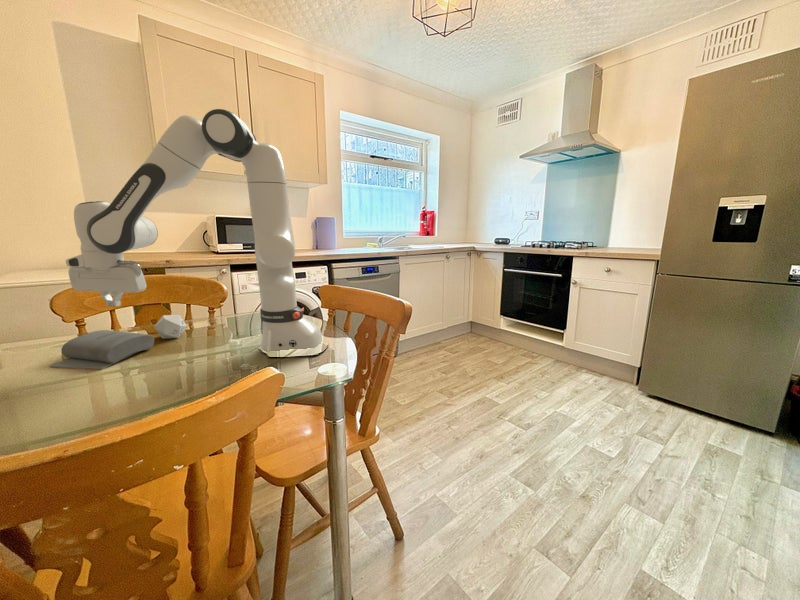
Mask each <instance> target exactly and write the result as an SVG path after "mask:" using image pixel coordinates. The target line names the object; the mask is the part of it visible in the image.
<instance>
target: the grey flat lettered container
mask: <svg viewBox="0 0 800 600" xmlns="http://www.w3.org/2000/svg"><path fill="white" fill-rule="evenodd" d="M154 344H155V337H154V336H153V335H152V334H148V333H147V334H146V333H139V332H129V331H119V330H109V329H103V330H101V329H100V330H95V331H91V332H87V333H84V334H81V335H79V336H77V337H74V338H72V339H70V340H68V341H66V342H65V343H64V344H63V345H62V346H61V349H60V350H61V354H62V355H63V357H65V358H78V359H86V360H93V361H101V362H108V363H115V362H117V363H119V362H120V361H119V360H121V359H123V358H124V357H126V356H128V355H130V354H133V353H135V352H137V353H139V352H141V351H142V352H143V351H146V350H150V349H151V348H153V346H154ZM138 351H139V352H138ZM135 354H136V353H135ZM133 355H134V354H133ZM123 360H124V359H123ZM118 361H119V362H118ZM121 361H122V360H121ZM115 364H116V363H115Z"/></svg>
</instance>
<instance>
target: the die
mask: <svg viewBox="0 0 800 600" xmlns="http://www.w3.org/2000/svg"><path fill="white" fill-rule="evenodd" d="M187 327H188V326H187V323H185V321H184V319H183V318H182V317H181V315H180V314H167V315H166V314H165V315H164V314H163V315H162V316H161V317H160V318H159V320H158V321H157V322H156V323H155V325H154V326H153V328H154V330H155V331H156V333H157V334H158V335H159V336H160V337H161V339H163V340H165V339H180V337H181V336H182V334H183V332H185V330H186V328H187Z"/></svg>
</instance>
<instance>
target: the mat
mask: <svg viewBox="0 0 800 600" xmlns="http://www.w3.org/2000/svg"><path fill="white" fill-rule="evenodd" d="M139 352H140V351H138V352H135V353H133V354H130V355H128V356H126V357H124V358H123V359H121V360H119V361H118V362H115V363H108V362H101V361H93V360H86V359H78V358H70V357H67V359H64V360H62V361H58V362H57V363H54V364H53V363H52V364H51V365H49V367H50V368H58V369H59V368H61V369H84V370H85V369H87V370H89V369H90V370H104V369H106V368H108V367H110V366H112V365H114V364H116V363H117V364H118V363H119V362H121V361H123V360H125V359H127V358H129V357H131V356H134V355H135V354H137V353H139Z"/></svg>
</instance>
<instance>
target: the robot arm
mask: <svg viewBox="0 0 800 600" xmlns="http://www.w3.org/2000/svg"><path fill="white" fill-rule="evenodd" d="M215 154H217V155H218V156H221V157H223V158H226V159H229V160H231V161H234V162H238V163H242V164H243V165H244V169H245V173H246V183H247V191H248V192H247V193H248V199H249V207H250V214H251V222H252V228H253V229H252V230H253V236H254V254H255V262H256V263H255V264H256V271H257V277H258V279H257V280H258V289H259V297H260V298H259V299H260V309H259V310H260V311H259V312H260V323H261V325H262V334H261V335H262V336H261V344H260V348H261V349H262V350H264V351H266V352H270V351H280V350H289V349H307V348H315V347H317V346H318V345H319V344H321V342H322V340H323V339H322V338H323V336H322V335H323V334H322V330H321V329H320V326H318V325H316V324H315V323H313V322H312V321H310V320H309V319H307V317H305V316H304V311H305V308H304V307H302V308H301V307H300V306H298V304H297V302H298V301H297V289H296V280H295V276H294V269H293V261H294V259H295V256H296V243H295V239H294V238H295V237H294V232H293V231H294V230H293V225H292V219H291V214H290V206H289V194H288V185H287V184H288V182H287V175H286V170H285V165H284V161H283V158H282V154H281V152H280V150H279V149H278V148H276V147H275V146H273V145H272V144H270V143H269V144H268V143H264V142H258V141H257V139H256V136H255V134H254V133H253V132H252V130H251V129H250V127H249V126H248V125H247V124H246V122H244V120H242V119H241V118H240V117H239V116H237V115H236V114H235V113H234V112H233V111H232V112H231V111H230V110H227V109H224V108H215V109H212V110H208V112H207V113H205V115H203V118H202V120H200V119H198V118H196V117H195V116H191V115H181V116H179V117H177V118H176V119H175V120H174V121H173V122H172V123H171V124H170V125H169V126H168V128H167V129H166V130H165V131H164V132H163V134H162V136H161V137H160V139H159V140H158V142H157V143H156V144H155V146H154V148H153V150H152V151H151V152H150V154H149V155H148V157H147V158H146V159H145V161H144V162H143V163H142V164H141V165H140V166H139V168H138V169H137V170H136V171H135V172H134V173H133V174H132V176H130V178H129V179H128V181H127V182H126V183H125V184H124V186H123V187H122V188H121V190H120V191H119V192H118V194H117V195H116V196H115V197H114V199H113V200H112V202H111V203H110V202H108V201H104V200H103V201H100V200H99V201H98V200H96V201H85V202H81V203H78V204H76V205H75V206H74V209H73V221H74V227H75V232H76V235H77V237H78V238H79V240H80V253H81V254H78V255H76V256H72V257H70V258H67V259H66V260H65V264H66V266H67V267H68V270H67V271H68V279H69V282H70V286H71V288H72V289H74V291H76V292H99V295H100V296H101V298H102V299H103V300H104V301H105V305H106V307H120V306H121V305H122V303H121V299H122V297H123V295H124V293H133V294H135V293H140V292H144V291H146V289H147V287H148V286H147V282H146V278H145V275H144V273H143V270H142V269H141V265H140V264H139V263H138V262H136V261H135V260H125V257H124V252H128V251H132V250H137V249H141V248H147V247H149V246H151V245H154V243H156V241H157V239H158V236H159V232H158V228H157V225H156V224H155V222H153V221H152V219H150V218H148V217H146V216H144V214H145V213H146V211H147V210H148V208H149V207H150V206H151V205H152V203H153V201H154V200H155V199H157V198H158V197H159V196H160V195H162V194H165V193H167V192H170V191H173V190H177V189H181V188H185V187H187V186H188V185H189V184H190V183H192V181H193V180H194V179H195V178H196V177H197V176H198V174H199V173H200V172H201V169H202V168H203V167H204V165H205V164H206V162H207V160H208V159H209V158H210V157H211V156H213V155H215ZM112 296H113V297H112Z"/></svg>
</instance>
